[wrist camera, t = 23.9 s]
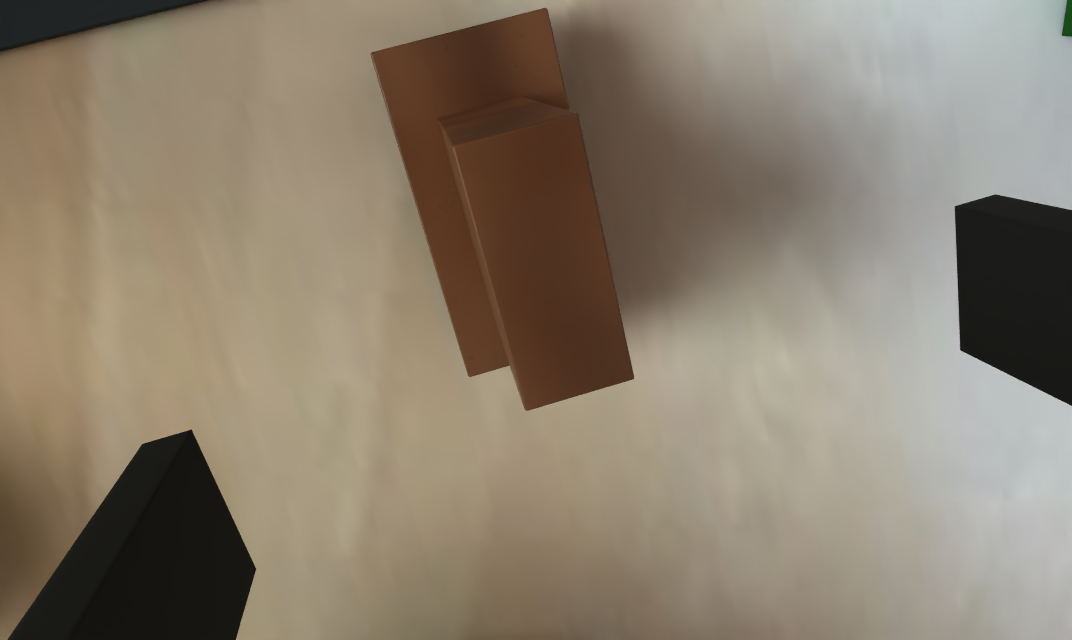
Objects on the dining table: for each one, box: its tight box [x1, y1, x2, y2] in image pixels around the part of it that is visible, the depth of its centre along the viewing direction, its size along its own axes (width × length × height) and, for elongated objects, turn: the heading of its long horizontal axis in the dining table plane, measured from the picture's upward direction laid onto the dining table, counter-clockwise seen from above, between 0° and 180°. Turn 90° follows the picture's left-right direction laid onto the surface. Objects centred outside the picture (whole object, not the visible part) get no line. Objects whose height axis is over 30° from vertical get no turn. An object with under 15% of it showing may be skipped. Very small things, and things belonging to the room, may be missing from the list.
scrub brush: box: [371, 8, 634, 411], centre depth 24 cm, size 6×12×12 cm, turn 13°
